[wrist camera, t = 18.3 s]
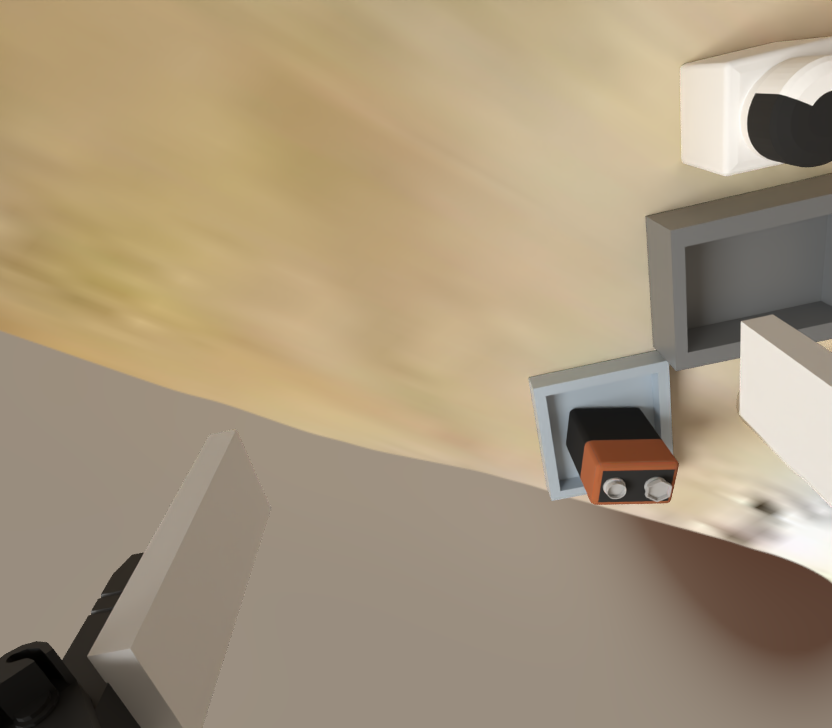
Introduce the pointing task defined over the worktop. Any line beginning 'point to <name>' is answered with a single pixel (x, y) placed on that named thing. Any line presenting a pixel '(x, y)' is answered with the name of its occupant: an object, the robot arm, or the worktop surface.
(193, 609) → the robot arm
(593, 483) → the battery
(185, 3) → the worktop surface
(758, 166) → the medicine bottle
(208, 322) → the worktop surface
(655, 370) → the tray
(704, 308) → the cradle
